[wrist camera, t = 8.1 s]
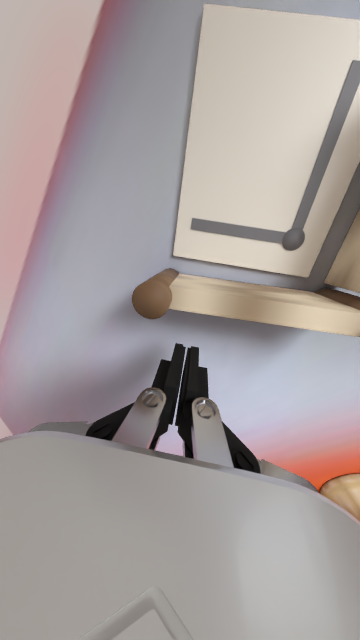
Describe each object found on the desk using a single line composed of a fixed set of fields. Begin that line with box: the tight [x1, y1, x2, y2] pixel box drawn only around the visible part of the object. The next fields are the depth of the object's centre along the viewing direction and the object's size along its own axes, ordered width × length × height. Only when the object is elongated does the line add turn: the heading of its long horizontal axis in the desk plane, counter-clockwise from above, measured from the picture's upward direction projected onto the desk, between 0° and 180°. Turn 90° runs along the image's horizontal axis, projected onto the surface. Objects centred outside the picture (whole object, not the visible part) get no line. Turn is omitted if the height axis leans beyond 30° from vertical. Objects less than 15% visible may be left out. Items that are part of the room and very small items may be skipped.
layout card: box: [173, 3, 360, 278], centre depth 10 cm, size 12×10×1 cm
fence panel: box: [132, 268, 360, 337], centre depth 11 cm, size 12×2×6 cm, turn 83°
